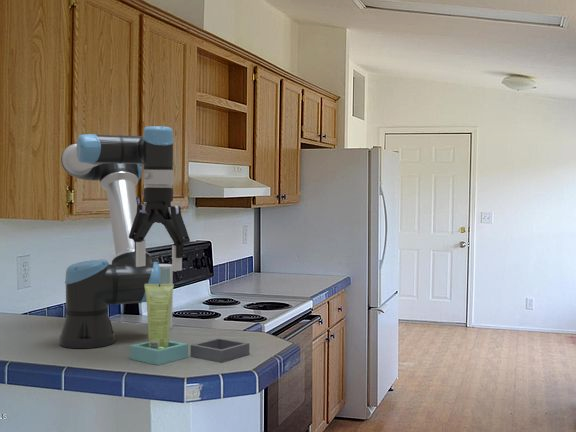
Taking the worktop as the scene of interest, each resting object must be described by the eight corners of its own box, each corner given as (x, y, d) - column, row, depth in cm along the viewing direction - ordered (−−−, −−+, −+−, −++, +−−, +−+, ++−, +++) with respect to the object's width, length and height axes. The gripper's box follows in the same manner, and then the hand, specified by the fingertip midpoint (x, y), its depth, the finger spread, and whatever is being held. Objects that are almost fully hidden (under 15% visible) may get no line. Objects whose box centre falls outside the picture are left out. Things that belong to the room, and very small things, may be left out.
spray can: (174, 326, 230) (174, 263, 229) (170, 330, 223) (170, 266, 222) (154, 325, 230) (154, 263, 229) (149, 330, 223) (149, 266, 223)
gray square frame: (190, 356, 189) (190, 344, 189) (218, 348, 198) (218, 337, 198) (221, 362, 183) (221, 350, 183) (249, 354, 192) (249, 343, 191)
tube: (161, 354, 191) (161, 281, 190) (174, 357, 188) (173, 283, 187) (144, 358, 187) (144, 283, 186) (157, 361, 183) (156, 285, 183)
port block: (130, 359, 186) (130, 343, 186) (160, 351, 194) (160, 336, 194) (158, 365, 180) (158, 348, 180) (187, 357, 188) (187, 341, 188)
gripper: (115, 186, 190) (115, 265, 191) (182, 187, 175) (182, 274, 176) (136, 185, 196) (137, 263, 197) (203, 187, 181) (203, 271, 182)
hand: (158, 268), depth 186 cm, fingers open, 13 cm apart
